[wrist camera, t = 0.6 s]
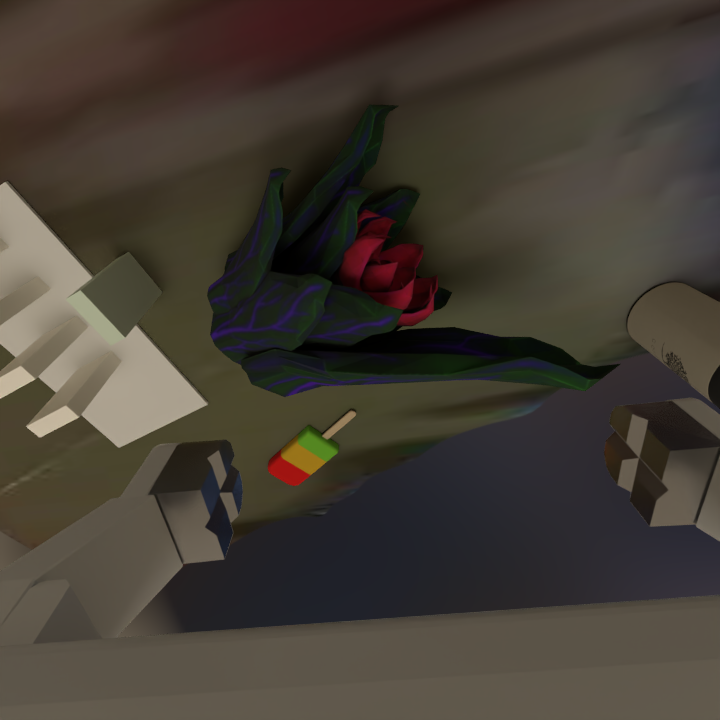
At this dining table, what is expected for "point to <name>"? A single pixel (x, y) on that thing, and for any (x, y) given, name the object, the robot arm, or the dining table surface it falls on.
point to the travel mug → (681, 334)
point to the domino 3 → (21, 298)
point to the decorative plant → (356, 295)
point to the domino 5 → (74, 395)
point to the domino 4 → (39, 355)
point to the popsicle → (306, 453)
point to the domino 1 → (3, 245)
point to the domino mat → (137, 351)
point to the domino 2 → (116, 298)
